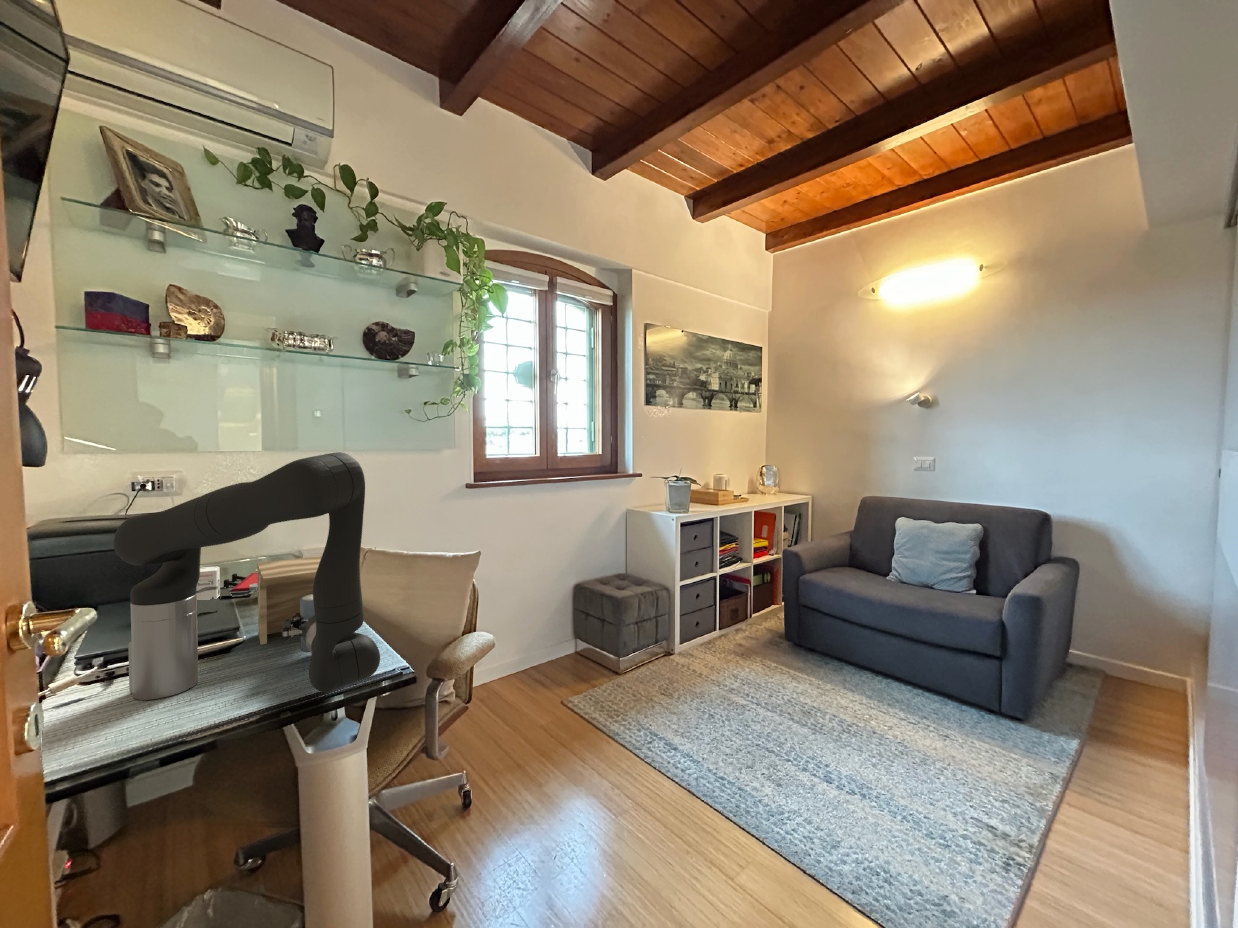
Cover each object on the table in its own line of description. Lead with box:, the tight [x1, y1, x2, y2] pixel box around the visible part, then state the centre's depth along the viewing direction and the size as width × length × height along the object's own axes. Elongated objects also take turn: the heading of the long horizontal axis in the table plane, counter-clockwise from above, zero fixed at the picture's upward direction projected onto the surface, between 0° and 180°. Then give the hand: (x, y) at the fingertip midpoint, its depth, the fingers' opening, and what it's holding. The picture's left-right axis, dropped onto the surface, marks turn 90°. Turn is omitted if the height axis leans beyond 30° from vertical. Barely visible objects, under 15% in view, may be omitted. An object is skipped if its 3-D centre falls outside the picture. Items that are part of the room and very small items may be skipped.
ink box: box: [196, 566, 221, 600], centre depth 139 cm, size 9×5×12 cm, turn 120°
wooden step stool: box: [256, 555, 322, 645], centre depth 121 cm, size 18×18×18 cm
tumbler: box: [300, 594, 315, 653], centre depth 111 cm, size 6×6×11 cm
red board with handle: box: [223, 572, 258, 598], centre depth 166 cm, size 30×3×15 cm
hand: (314, 614), depth 112 cm, fingers closed on tumbler, 6 cm apart
